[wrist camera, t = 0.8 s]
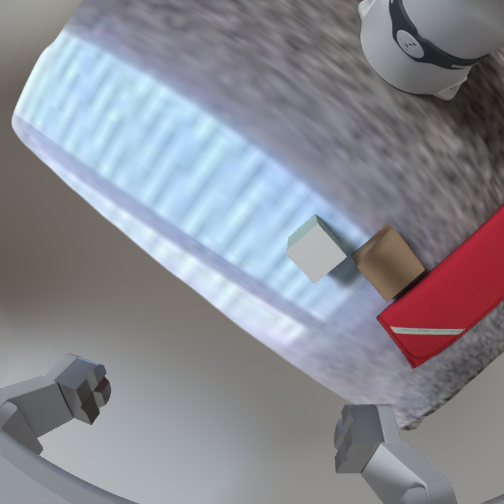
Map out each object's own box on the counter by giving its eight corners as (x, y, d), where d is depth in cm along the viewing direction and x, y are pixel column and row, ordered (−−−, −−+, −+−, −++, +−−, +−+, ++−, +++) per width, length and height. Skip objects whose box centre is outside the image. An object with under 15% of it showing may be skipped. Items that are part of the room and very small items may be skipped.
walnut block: (387, 223, 39) (397, 232, 35) (413, 257, 40) (425, 269, 36) (351, 255, 42) (357, 267, 37) (378, 287, 43) (386, 302, 38)
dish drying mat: (556, 232, 34) (568, 238, 30) (410, 363, 47) (416, 376, 43) (535, 162, 31) (548, 165, 28) (371, 308, 44) (376, 320, 41)
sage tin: (315, 212, 40) (318, 224, 34) (339, 239, 41) (347, 256, 34) (287, 237, 42) (285, 253, 35) (311, 263, 43) (314, 283, 36)
